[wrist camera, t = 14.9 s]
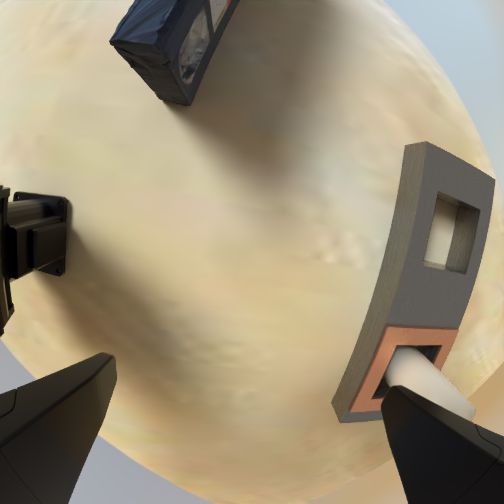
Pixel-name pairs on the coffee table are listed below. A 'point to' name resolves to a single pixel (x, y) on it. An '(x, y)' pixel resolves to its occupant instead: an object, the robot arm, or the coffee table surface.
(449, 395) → the peg
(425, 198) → the rail
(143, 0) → the vhs cassette tape
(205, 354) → the coffee table surface
